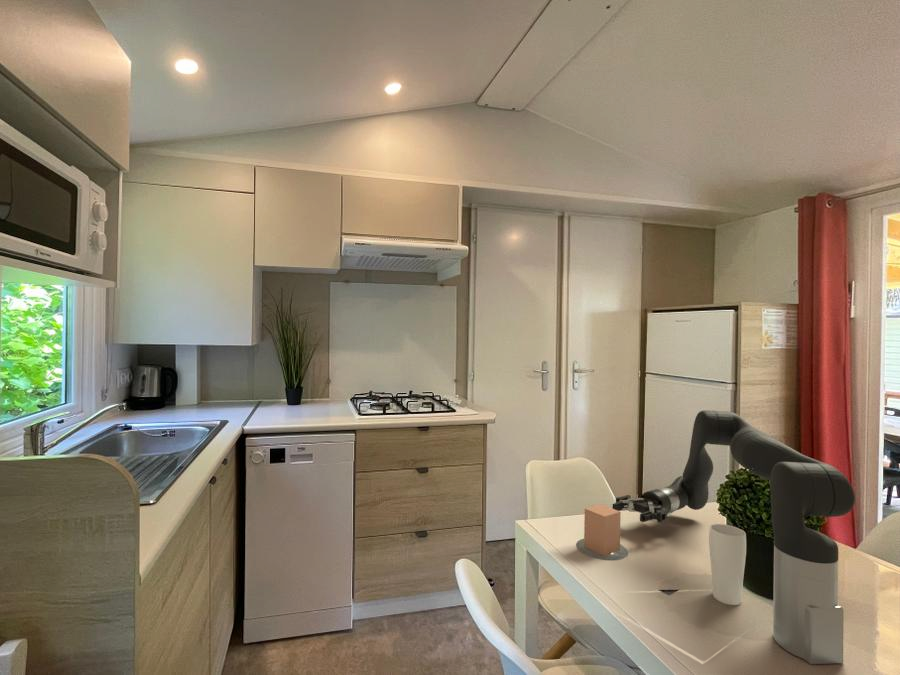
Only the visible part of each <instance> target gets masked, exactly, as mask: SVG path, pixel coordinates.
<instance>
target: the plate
mask: <svg viewBox="0 0 900 675" xmlns="http://www.w3.org/2000/svg"><path fill="white" fill-rule="evenodd" d="M575 546H576V548H577V550H578V551H579V552H581V553H582V554H583V555H585V556H587V557H591V558H593V559H598V560H601V561H602V560H603V561H619V560H623V559H625V558H627V557H628V555H629V551H628V548H626V547H625V546H624V545H622V544H621V543H620V550H619V551H616V552H614V553H611V554H609V555H606V556H603V555H601V554H599V553H597V552H595V551H593V550H591V549H589V548H587V547H584V538H581V539H579V540H578V541H576V544H575Z"/></svg>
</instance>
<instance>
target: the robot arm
mask: <svg viewBox="0 0 900 675" xmlns="http://www.w3.org/2000/svg"><path fill="white" fill-rule="evenodd" d="M707 444H708V445H714V446H715V445H716V446H728V447H729V449H730V454H731V456H732V457H733V459H734V461H736V462H737V463H738V464H739V465H740V466H741V467H743V468H744V469H745V470H747V469H749V470H747V471H748V472H750V473H751V474H753V475H754V476H757V477H760V478H762V479H765V480H768V481H769V489H770V506H771V507H770V508H771V527H772V531H773V604H772V605H773V607H772V608H773V611H772V613H773V614H772V616H773V618H772V619H773V622H772V623H773V626H772V628H773V629H772V632H773V633H772V635H773V639H774V641H775V642H776V643H777V645H779V646H780V647H781V648H782V649H783V650H785V651H786V652H788V653H790V654H792V655H793V656H796V657H798V658H800V659H802V660H804V661H806V662H807V663H808V664H810V665H820V664H821V665H823V664H824V665H828V664H830V665H831V664H844V621H845V620H844V618H845V617H844V608H843V606H841V605H839V554H840V553H839V546H838V544H837V542H836V541H835V540H834V539H833V538H831V537H830V536H828V535H826V534H824V533H822V532H820V531H817V530H814V529H812V528H809V527H808V526H806V522H805V516H811V517H812V516H813V517H824V518H836V517H837V518H838V517H841V516H845V515H846V514H849V513H850V512H851V510H852V509H853V508H854V506H855V503H856V496H855V495H856V493H855V491H854V489H853V486H852V484H851V482H850V481H849V480H848V478H847V477H846V475H845V474H844V473H842V471H841V470H839V469H838V468H836V467H834V466H833V465H831V464H828V463H825V462H822V461H820V460H817V459H815V458H812V457H809V456H807V455H805V454H802V453H801V452H799V451H797V450H795V449H793V448H792V447H790V446H788V445H786V444H784V443H783V442H781V441H779V440H778V439H776V438H774V437H773V436H771V435H770V434H767V433H765V432H763V431H761V430H759V429H758V428H756V427H755V426H752V425H751V424H750V423H749V422H747V420H745V418H742V417H741V415H739V414H737V413H735V412H732V411H726V410H725V411H723V410H712V409H711V410H708V409H707V410H700V411H699V412H698V413H697V414H696V417H695V419H694V422H693V427H692V433H691V439H690V446H689V447H690V448H689V455H688V459H687V461H686V464H685V467H684V470H683V472H682V475H680V476H678V477H677V478H675V479H674V480H673V481H672V483H671V484H670V485H668V486H665V487H658V488H654V489H651V490H648V491H645V492H643V493H642V494H641V496H640V497H638V498H631V495H629V494H626V495H622V496H619V497H618V496H617V497H615V502H614V503H613V504H612V509H615V510H617V511H620V512H621V511H623V510H624V511H628V512H630V513H631V512H633V513H639V521H640V522H641V523H646V522H649V521H652V522H654V521H656V522H657V523H663V522H665V521H668V520H670V519H671V517H672V515H671V514H673V513H675V512H676V511H678V510H682V509H683V508H685V507H686V506H687V507H688V508H689V509H691V510H695V511H696V510H697V511H699V510H702V509H703V508H704V507H705V506H706V504H707V503H708V501H709V495H710V493H709V481H710V480H711V477H712V475H713V472H714V463H713V460H712V458H711V456H710V454H709V452H708V451H707V449H706V445H707ZM752 468H753V469H752ZM632 505H633V507H632Z"/></svg>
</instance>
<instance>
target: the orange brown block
mask: <svg viewBox="0 0 900 675" xmlns="http://www.w3.org/2000/svg"><path fill="white" fill-rule="evenodd" d="M621 515H622V514H621V511H617V510H615V509H613V507H609V506H606V505H604V504H601V503H599V504H596V505H592V506H590V507H585V508H584V527H583V528H584V529H583V531H584V532H583V533H584V534H583V535H584V536H583V539H584V547H587V548H589V549H591V550H593V551H595V552H597V553H599V554H601V555H603V556H606V555H609V554H611V553H614V552H616V551H619V550H620V544H621Z"/></svg>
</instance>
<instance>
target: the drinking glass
mask: <svg viewBox="0 0 900 675" xmlns="http://www.w3.org/2000/svg"><path fill="white" fill-rule="evenodd" d="M708 534H709V536H708V537H709V538H708V539H709V541H708V544H709V547H708V548H709V549H708V550H709V557H710V571H711V584H712V588H711V589H712V592H711V593H712V596H713V598H714V599H715V600H716V601H718V602H721V603H722V604H725V605H729V606H739V605H741V604H742V603H743V602H742V600H743V599H742V598H743V596H742V595H743V584H744V575H745V567H746V557H747V534H746V532H745V531H744V530H743V529H740V528H739V527H736V526H733V525H729V524H726V523H725V524H723V523H713V524H711V525H710V526H709V533H708Z"/></svg>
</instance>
